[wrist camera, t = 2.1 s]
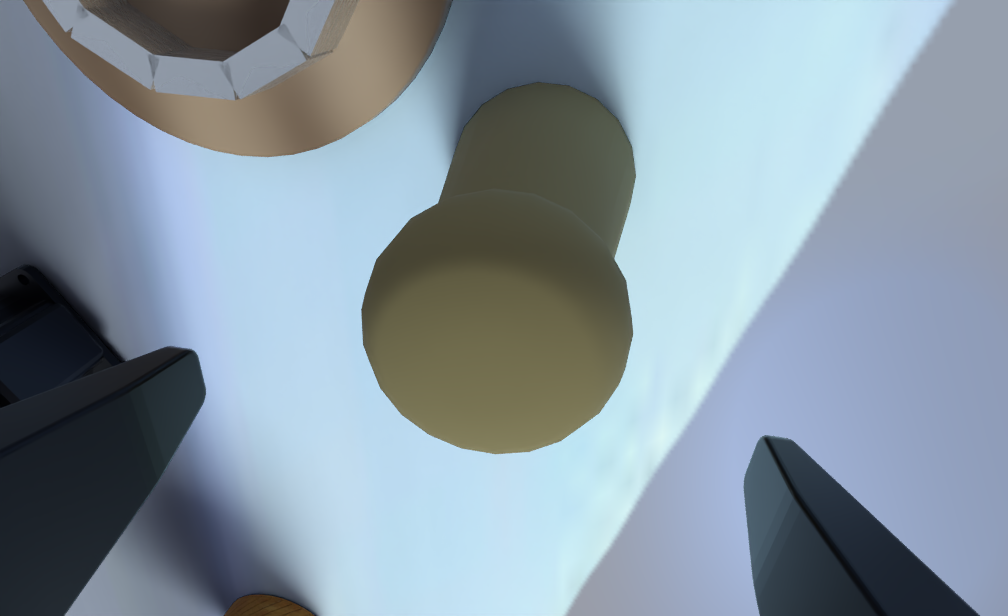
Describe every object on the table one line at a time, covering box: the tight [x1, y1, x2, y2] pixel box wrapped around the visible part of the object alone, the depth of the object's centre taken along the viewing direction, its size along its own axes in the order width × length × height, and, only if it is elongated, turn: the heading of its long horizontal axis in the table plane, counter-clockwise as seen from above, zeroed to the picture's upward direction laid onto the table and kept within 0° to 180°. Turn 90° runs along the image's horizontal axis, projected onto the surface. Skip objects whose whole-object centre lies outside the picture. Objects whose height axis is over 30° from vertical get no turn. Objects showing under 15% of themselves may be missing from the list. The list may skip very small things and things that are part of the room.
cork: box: [361, 82, 636, 454], centre depth 15 cm, size 6×6×11 cm
